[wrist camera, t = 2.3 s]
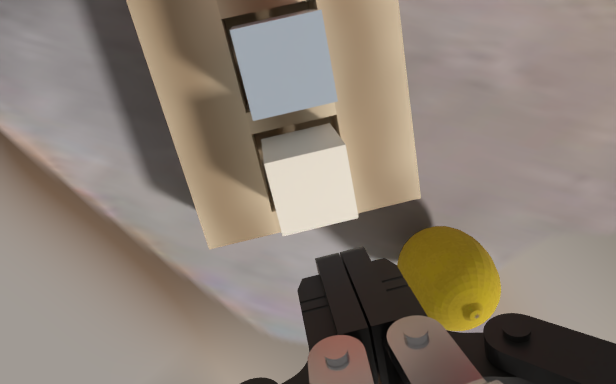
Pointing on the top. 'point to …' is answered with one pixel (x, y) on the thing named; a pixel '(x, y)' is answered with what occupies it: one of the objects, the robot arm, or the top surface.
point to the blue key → (284, 63)
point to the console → (247, 133)
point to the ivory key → (309, 178)
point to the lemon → (451, 277)
